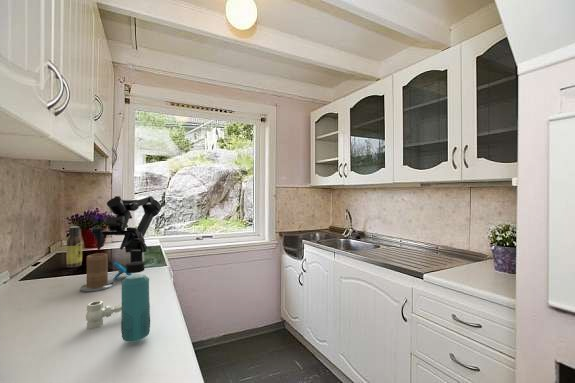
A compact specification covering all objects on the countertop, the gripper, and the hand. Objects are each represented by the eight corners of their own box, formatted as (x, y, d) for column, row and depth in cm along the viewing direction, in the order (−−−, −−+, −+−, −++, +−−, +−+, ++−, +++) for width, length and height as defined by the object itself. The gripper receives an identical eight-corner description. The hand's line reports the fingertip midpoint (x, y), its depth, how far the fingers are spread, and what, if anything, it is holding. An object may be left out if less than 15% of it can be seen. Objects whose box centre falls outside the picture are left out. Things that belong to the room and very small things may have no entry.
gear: (135, 276, 118) (115, 261, 116) (123, 288, 116) (103, 273, 113) (134, 273, 128) (116, 259, 125) (123, 284, 125) (105, 270, 123)
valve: (88, 333, 75) (137, 318, 83) (88, 308, 75) (137, 296, 83) (83, 325, 79) (130, 312, 88) (83, 301, 79) (130, 291, 88)
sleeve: (83, 287, 108) (83, 256, 108) (99, 282, 114) (99, 252, 114) (94, 289, 106) (94, 257, 106) (111, 283, 112) (111, 254, 112)
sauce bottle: (81, 267, 139) (81, 227, 138) (65, 268, 135) (65, 228, 135) (82, 264, 144) (82, 225, 144) (67, 265, 141) (67, 226, 141)
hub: (76, 287, 110) (76, 276, 109) (108, 280, 118) (108, 270, 118) (84, 294, 102) (84, 282, 102) (117, 286, 110) (117, 275, 110)
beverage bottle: (154, 340, 71) (154, 262, 71) (125, 351, 66) (125, 267, 66) (144, 331, 75) (144, 258, 75) (116, 341, 70) (116, 262, 70)
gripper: (92, 210, 125) (77, 239, 114) (136, 209, 127) (126, 238, 116) (102, 224, 133) (89, 253, 122) (143, 224, 135) (134, 252, 124)
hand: (109, 249), depth 121 cm, fingers open, 9 cm apart
